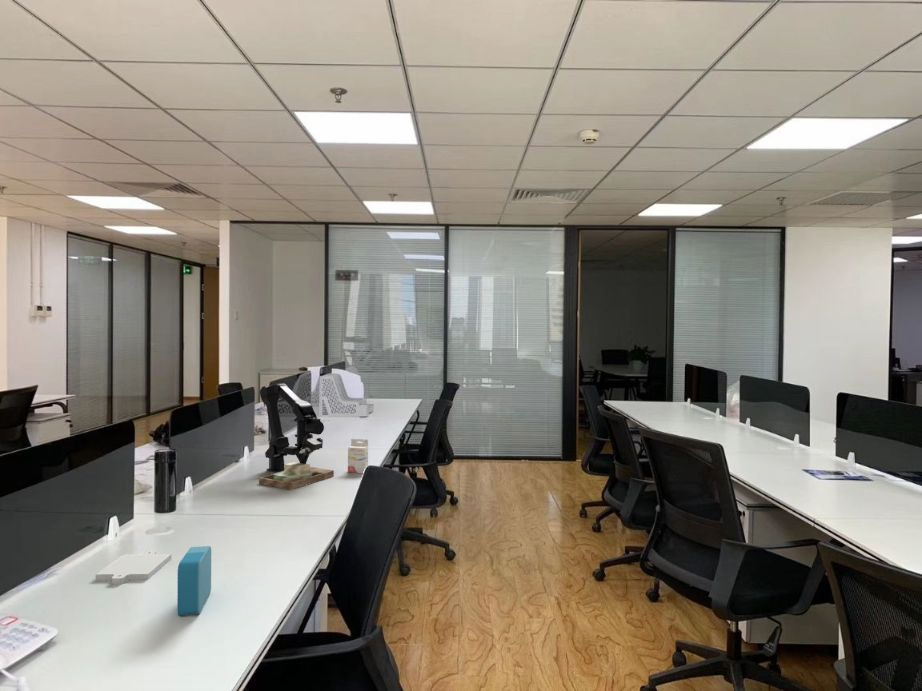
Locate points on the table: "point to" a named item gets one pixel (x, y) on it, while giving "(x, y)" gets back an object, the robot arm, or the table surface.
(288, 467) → the maple slab
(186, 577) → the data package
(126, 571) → the mounting plate
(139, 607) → the table surface
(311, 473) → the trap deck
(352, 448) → the ink cartridge box
